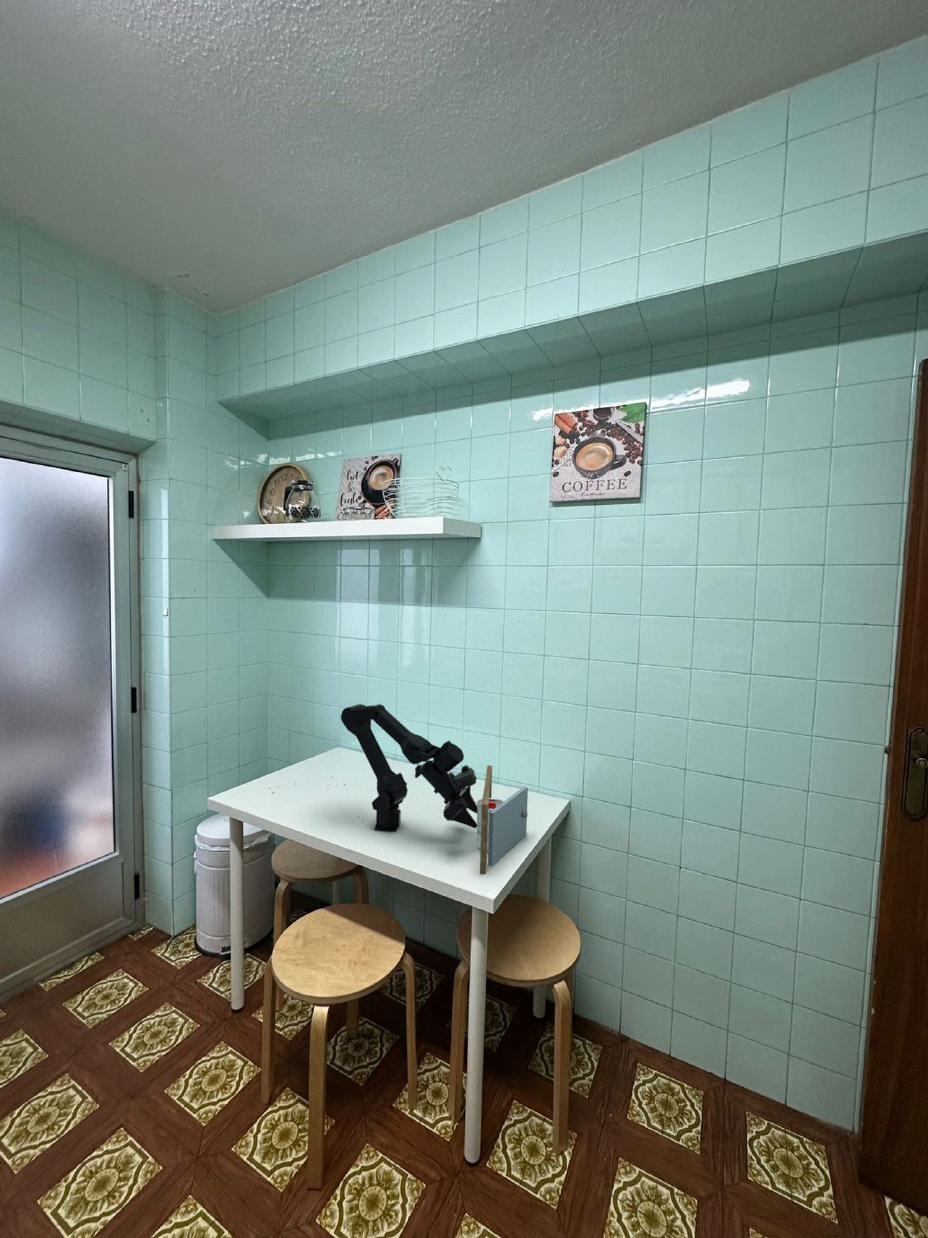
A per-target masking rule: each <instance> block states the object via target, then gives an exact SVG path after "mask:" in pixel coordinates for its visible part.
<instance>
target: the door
mask: <svg viewBox="0 0 928 1238" xmlns="http://www.w3.org/2000/svg"><path fill="white" fill-rule="evenodd" d="M528 791H529V787H528V786H523V787H522V788H520V789H519V790H517V791H516V792H514V793H513V794H512V795H510V796H509V797H507V798H506V799H505V800H503V801H504V802H502V803H501V804H500V805H498V806H497V807H496V808H494V809H493V810H492V811H490V812H489V845H488V852H487V865H488V866H491V867H493V866H494V865H495V864H496V863H497V862H498V861H499V860H500V859H501V858H502V857H503V856H504V855H506V854H507V853H508V852H509V851H510V850H511V849H512V848H513V847H514V846H515V845H516V844H517V843H518V842H519V841H520V840H521V839H523V838H524V837H525V835H526V834H527V827H528V826H527V825H528V824H527V823H528V821H527V820H528V815H529V813H528V796H529V795H528V794H529V793H528Z"/></svg>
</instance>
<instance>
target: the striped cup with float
mask: <svg viewBox="0 0 928 1238" xmlns="http://www.w3.org/2000/svg"><path fill="white" fill-rule="evenodd" d="M482 800H483V798H480V799H478V800H477V801H476V805H477V814H476V816H477V817H476V823H477V827H476V847H477V848H478V849H479V850H481V816H482ZM504 801H505V800H502V799H498V798H492V797H491V798H489V804H488V833H487V853H488V845H489V812H490V811H492V810H493V809H494V808H496V807H497V806H498V805H500V804H501V803H502V802H504Z"/></svg>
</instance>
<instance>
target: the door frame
mask: <svg viewBox="0 0 928 1238" xmlns="http://www.w3.org/2000/svg"><path fill="white" fill-rule="evenodd" d="M486 766H487V767H486V772H485V773H486V775H485V780H484V787H483V792H482V793H483V794H482V799H483V800H482V816H481V849H479V850H480V854H479V855H480V857H479V858H480V859H479V860H480V861H479V874H480V875H487V865H488V852H487V833H488V804H489V798H492V787H493V786H492V784H493V781H492V780H493V765H490V764H489V765H488V764H487V765H486Z"/></svg>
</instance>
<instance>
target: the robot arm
mask: <svg viewBox="0 0 928 1238" xmlns="http://www.w3.org/2000/svg"><path fill="white" fill-rule="evenodd" d="M340 720H341V722H342V724H343V726H344V727H345V729H346V730H347V731H348V732H350V733H351V734H352V735H353V736H355V737H356V739H357V741H358V743H359V745H360V747H361V749H362V751H363V753H364V755H365V758H366V759H367V762H368V763H369V765H370V768H371V769H372V772H373V774H374V776H375V778H376V791H377V794H378V795H377V797H376V798H375V799H373V800H372V801H371V806H372V809H373V810H374V811H376V814H375V819H376V820H375V821H376V822H375V827H374V831H384V832H397V830H398V828H399V827H400V825H401V820H402V819H401V818H402V815H401V814H402V810H401V809H400V805H401V804H402V803H403V802H404V799H405V798H406V797H407V795H408V787H407V786H408V783H407V782H406V780H405V778H404V776H403V774H402V772H399V773H396V772H394V771H393V770H392V767H391V766H390V764H389V762H388V760H387V758H386V757H385V755H384V752H383V750H382V748H381V745H380V744H379V743H378V740H377V738H376V736H375V735H374V732H373V730H372V721H373V722H374V723H375V724H376V725H378V726H379V727H380V729H382V730H383V731H384V732H385V733H387V735H388V736H389V737H390V738H391V739H392V740H394V741H395V742H396V743H397V744H398V745H399V746H400V750H401V753H402V755H404V757H405V758H406V760H407V761H408V762H409V763H410V764H412V765H416V767H415V768H414V771H415V774H414V779H418V778H419V777H420V776H422V777H423V778H424V779H425V781H427V782H428V783H429V785H430V786H432V787H433V789H434V790H433V793H435V795H436V794H439V795H440V796H441V798H443V799H444V801H443V803H444V804H445V806H444V808H443V812H442V813H443V817H444V818H445V820H446V821H448V822H449V821H450V822H456V823H460V824H462V825H466V826H467V827H471V828H472V829H477V821H476V820H475V819H474V817H473V816H472V815H471V813H470V812H469V811H471V812H473V813H474V814H475V815H477V802H476V801H475V799H474V798H473V796H472V793H471V789H472V787H471V786H474V785H475V784H477V779H478V778H477V776H476V773H475V769H473V768H472V767H470V766H468V765H467V764H466V765H463V766H462V767H461V771H460V772H458V774H456V775H455V774H454V773H453V772H451V771H452V770H453V769H455V767H456V766H458V765H459V764H460V763H461V762H463V761H464V758H465V754H464V752H463V750H462V749H461V748H460V747H459V746H458V745H456V744H455V743H452V742H451V740H447V741H445V742H444V743H442V745H441V746H440V747H439V746H437V745H434V744H432V743H431V741H430V740H428V739H426V738H425V737H424V736H421V735H419V734H416V733H414V732H412V731H410V730H409V729H408V728H407V727H406V726H405V725H404V724H402V722H400V721H399V720H398V719H397V718H396V717H394V715H392V713H390V712H389V711H388V710H387V709H386V707H385V706H384V705H383V704H380V703H379V704H375V705H364V704H362V703H358V704H356V705H355V704H354V705H351V706H348V707H347V706H346V707H345V708H344V709H343V710H342V711H341V715H340ZM431 759H432V760H431ZM423 762H424V763H423ZM420 763H423V764H421V765H419V764H420ZM468 810H469V811H468Z"/></svg>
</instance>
